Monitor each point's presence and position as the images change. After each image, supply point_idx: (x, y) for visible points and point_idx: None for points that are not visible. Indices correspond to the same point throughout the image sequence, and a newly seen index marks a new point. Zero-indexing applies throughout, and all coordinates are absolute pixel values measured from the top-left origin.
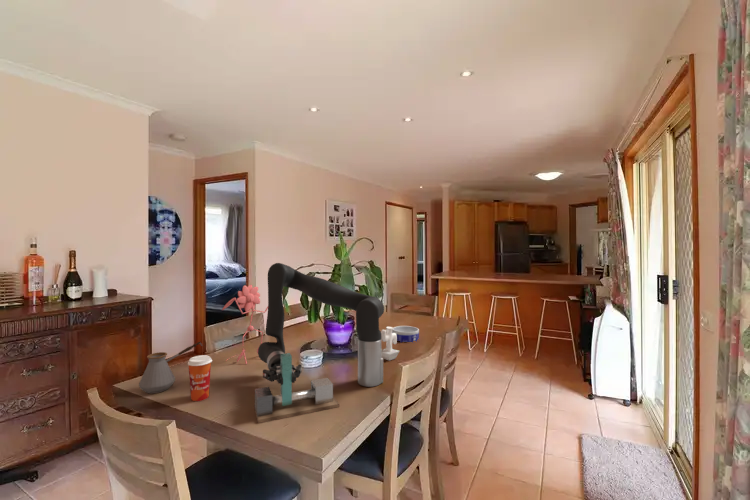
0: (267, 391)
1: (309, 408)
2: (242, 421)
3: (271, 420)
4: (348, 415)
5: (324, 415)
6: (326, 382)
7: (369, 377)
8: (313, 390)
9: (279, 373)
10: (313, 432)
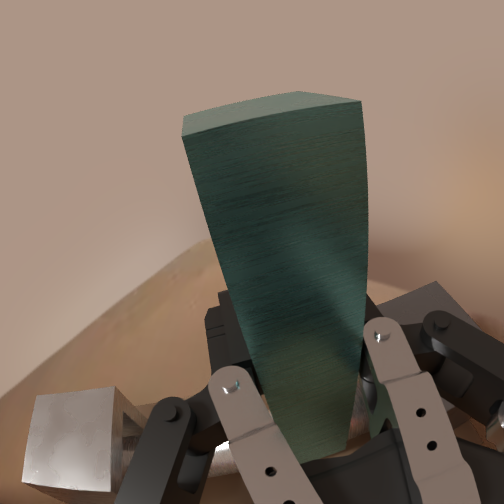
0: None
1: None
2: None
3: None
4: (88, 359)
5: (151, 374)
6: (49, 422)
7: None
8: (134, 441)
9: (370, 334)
10: (208, 293)
